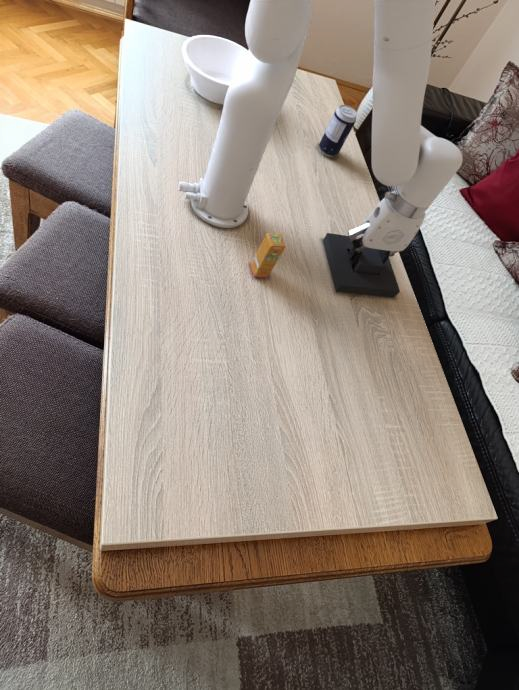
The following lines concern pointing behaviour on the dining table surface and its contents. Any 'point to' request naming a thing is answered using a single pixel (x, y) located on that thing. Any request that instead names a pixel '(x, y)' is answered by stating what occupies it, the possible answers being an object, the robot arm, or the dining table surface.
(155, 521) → the dining table surface
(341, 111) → the beverage can
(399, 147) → the robot arm
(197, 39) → the bowl
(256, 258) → the supplement box
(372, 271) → the black square block
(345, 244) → the socket pad
